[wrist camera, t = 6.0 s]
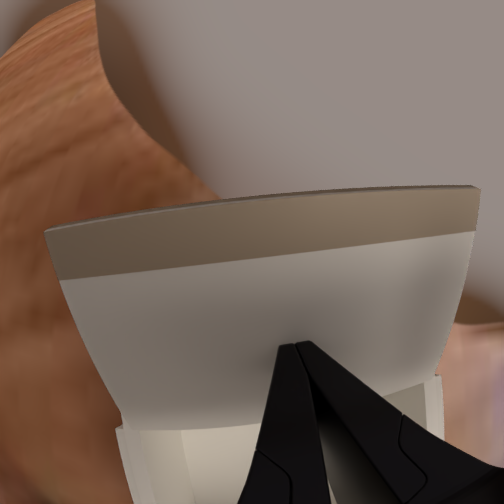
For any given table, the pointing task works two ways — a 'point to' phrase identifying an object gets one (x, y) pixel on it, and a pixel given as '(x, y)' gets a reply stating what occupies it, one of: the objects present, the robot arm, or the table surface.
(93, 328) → the far flap
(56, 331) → the table surface
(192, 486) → the carton
